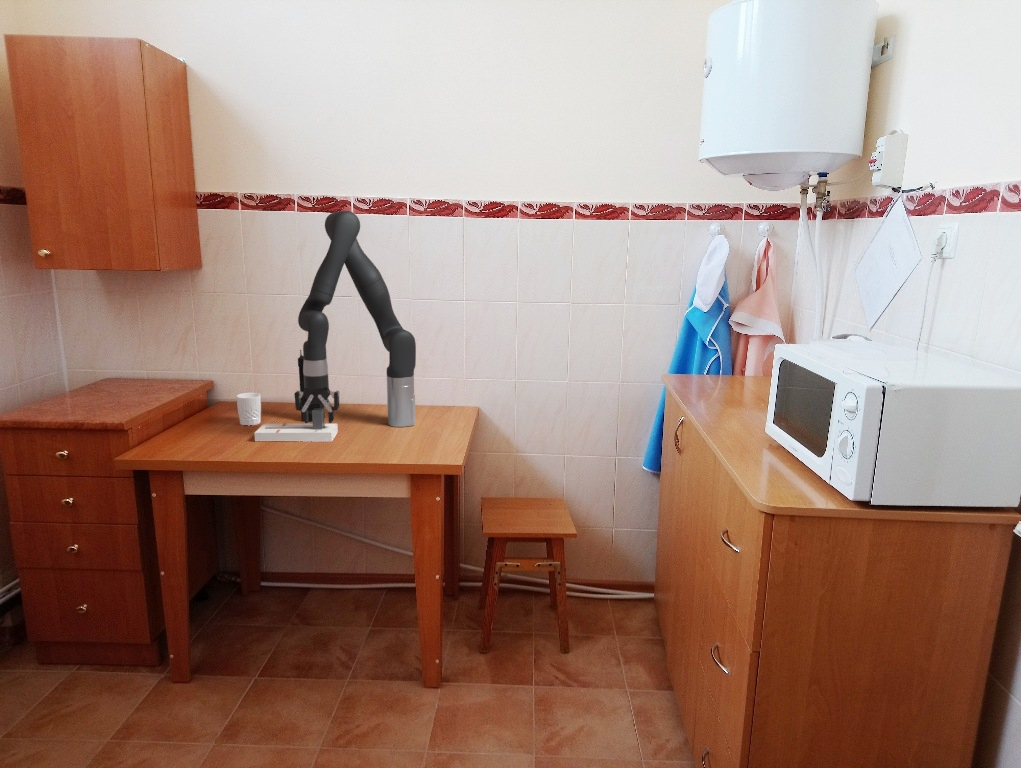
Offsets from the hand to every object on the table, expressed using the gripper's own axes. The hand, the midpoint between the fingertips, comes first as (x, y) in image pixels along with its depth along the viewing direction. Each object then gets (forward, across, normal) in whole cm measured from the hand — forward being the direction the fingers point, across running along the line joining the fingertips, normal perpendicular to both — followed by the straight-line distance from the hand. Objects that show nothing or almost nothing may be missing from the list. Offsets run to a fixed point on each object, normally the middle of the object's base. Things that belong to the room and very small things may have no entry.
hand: (318, 422), depth 223 cm
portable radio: (+5, +6, -20) cm, 21 cm away
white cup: (+5, +27, -16) cm, 32 cm away
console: (+5, +7, 0) cm, 9 cm away
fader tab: (+2, 0, 0) cm, 2 cm away
